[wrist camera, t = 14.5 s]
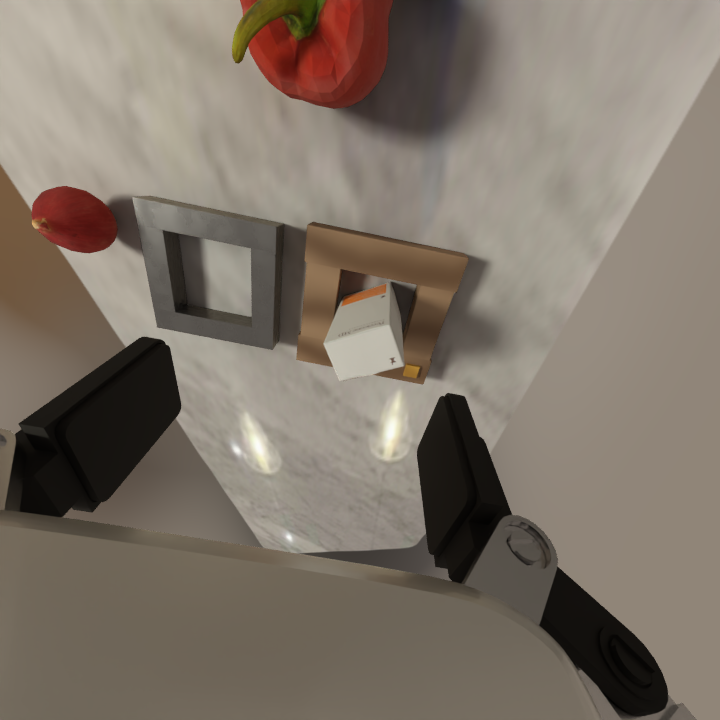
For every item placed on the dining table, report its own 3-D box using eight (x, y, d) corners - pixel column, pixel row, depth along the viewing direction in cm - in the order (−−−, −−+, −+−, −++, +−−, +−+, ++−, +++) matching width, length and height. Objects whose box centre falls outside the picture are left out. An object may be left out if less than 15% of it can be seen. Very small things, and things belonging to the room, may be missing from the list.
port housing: (312, 221, 31) (306, 225, 28) (463, 253, 31) (469, 259, 29) (301, 350, 39) (295, 361, 36) (421, 373, 39) (423, 386, 37)
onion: (117, 255, 34) (49, 274, 27) (70, 208, 32) (-16, 216, 25) (146, 225, 32) (81, 237, 25) (99, 173, 30) (14, 171, 23)
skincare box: (390, 279, 33) (392, 323, 23) (401, 313, 35) (407, 367, 25) (340, 295, 35) (321, 343, 24) (353, 327, 37) (339, 384, 26)
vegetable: (314, 155, 28) (283, 143, 19) (236, 24, 24) (152, -64, 15) (420, 64, 24) (438, 1, 16) (348, -108, 20) (320, -322, 12)
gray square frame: (149, 195, 31) (132, 197, 29) (283, 223, 31) (276, 226, 29) (170, 319, 38) (157, 327, 36) (278, 340, 38) (272, 349, 36)
